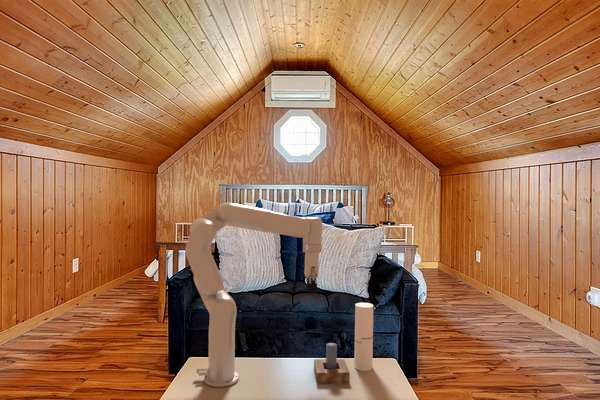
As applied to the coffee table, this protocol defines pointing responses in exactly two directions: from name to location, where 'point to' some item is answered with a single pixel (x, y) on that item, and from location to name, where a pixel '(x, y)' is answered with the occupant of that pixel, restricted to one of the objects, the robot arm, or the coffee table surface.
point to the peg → (331, 356)
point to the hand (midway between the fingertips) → (311, 290)
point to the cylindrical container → (363, 336)
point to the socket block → (331, 372)
